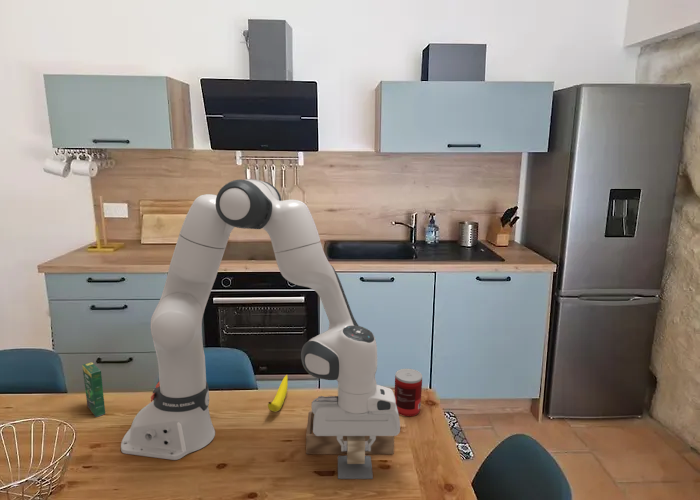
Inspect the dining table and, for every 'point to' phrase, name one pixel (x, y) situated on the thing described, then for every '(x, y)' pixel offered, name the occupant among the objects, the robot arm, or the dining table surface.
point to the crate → (333, 446)
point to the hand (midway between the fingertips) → (355, 449)
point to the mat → (354, 469)
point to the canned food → (408, 391)
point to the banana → (279, 396)
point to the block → (356, 450)
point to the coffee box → (94, 389)
